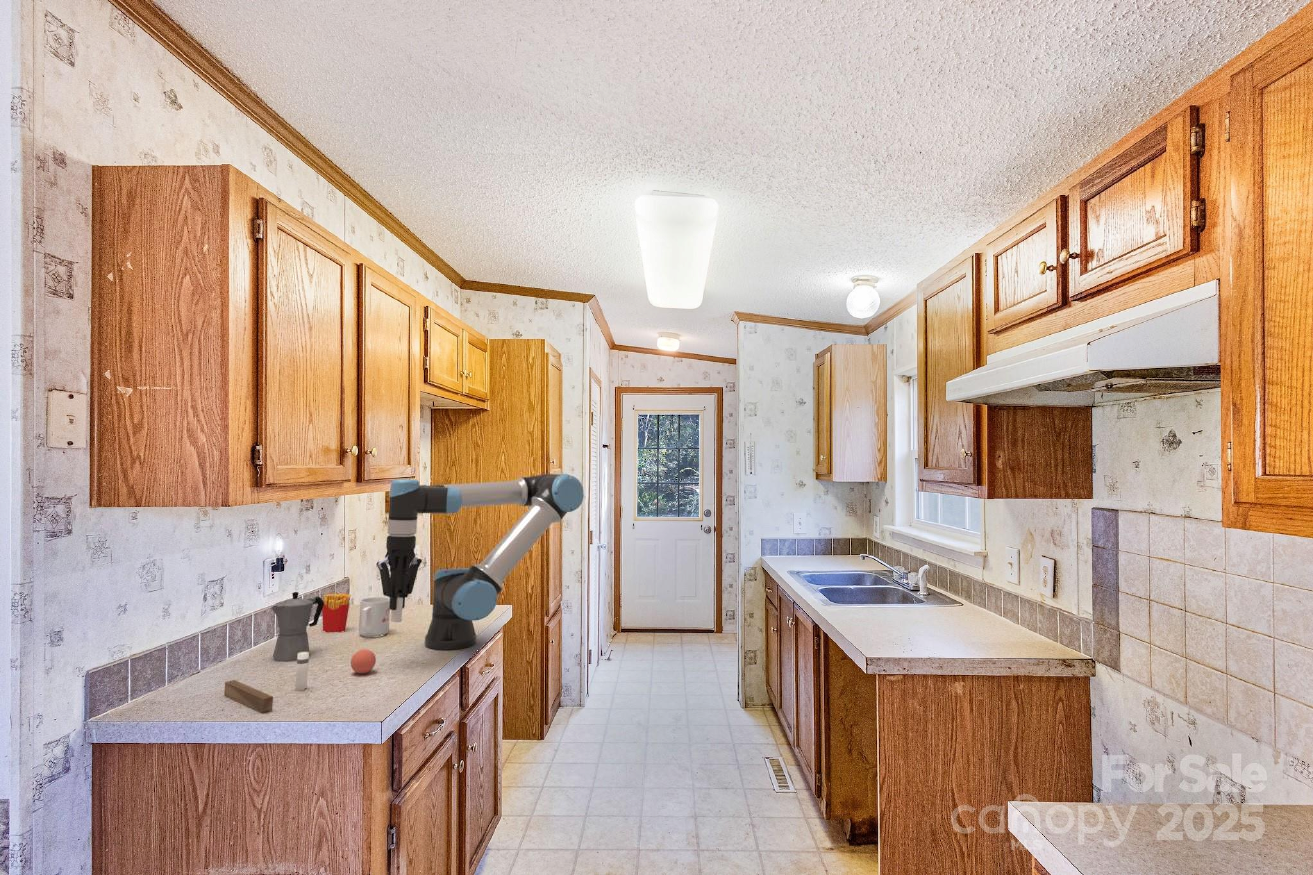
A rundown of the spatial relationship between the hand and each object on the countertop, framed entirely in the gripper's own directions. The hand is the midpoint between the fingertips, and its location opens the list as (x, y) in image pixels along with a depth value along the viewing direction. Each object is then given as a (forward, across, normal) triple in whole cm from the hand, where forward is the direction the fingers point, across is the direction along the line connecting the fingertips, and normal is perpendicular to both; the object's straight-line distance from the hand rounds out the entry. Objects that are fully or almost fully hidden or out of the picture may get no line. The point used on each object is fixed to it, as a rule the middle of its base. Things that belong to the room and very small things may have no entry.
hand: (396, 621), depth 178 cm
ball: (+9, +9, 0) cm, 13 cm away
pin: (+12, +25, 0) cm, 28 cm away
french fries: (+12, -10, -46) cm, 48 cm away
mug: (+12, -14, -32) cm, 37 cm away
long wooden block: (+12, +37, 0) cm, 39 cm away
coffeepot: (+12, +12, -28) cm, 33 cm away
